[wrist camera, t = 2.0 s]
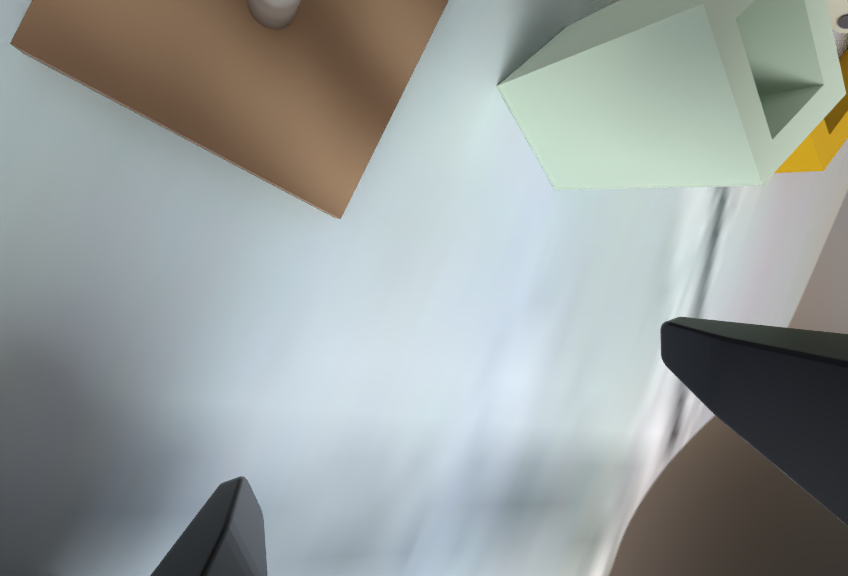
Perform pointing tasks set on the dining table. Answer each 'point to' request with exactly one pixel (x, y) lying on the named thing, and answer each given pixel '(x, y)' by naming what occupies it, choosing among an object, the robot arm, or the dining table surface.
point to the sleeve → (677, 92)
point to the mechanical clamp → (838, 125)
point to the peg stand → (248, 76)
